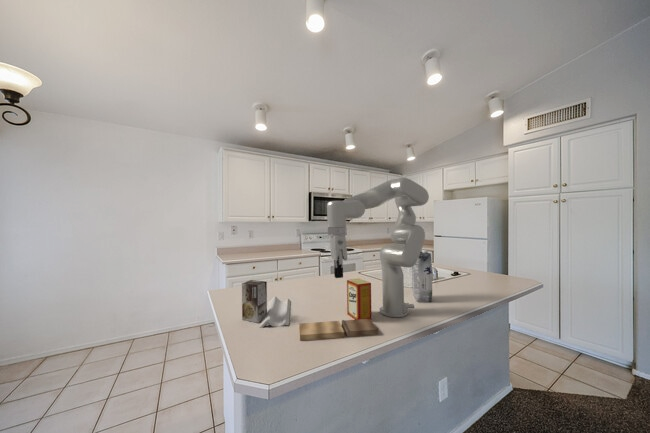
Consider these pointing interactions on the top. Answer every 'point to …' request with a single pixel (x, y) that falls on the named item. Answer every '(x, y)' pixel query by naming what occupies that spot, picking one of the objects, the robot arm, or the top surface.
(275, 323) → the crown molding
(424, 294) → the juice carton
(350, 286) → the baking soda box
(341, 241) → the robot arm
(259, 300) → the coffee box
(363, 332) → the walnut board
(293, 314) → the top surface
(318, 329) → the oak plank
